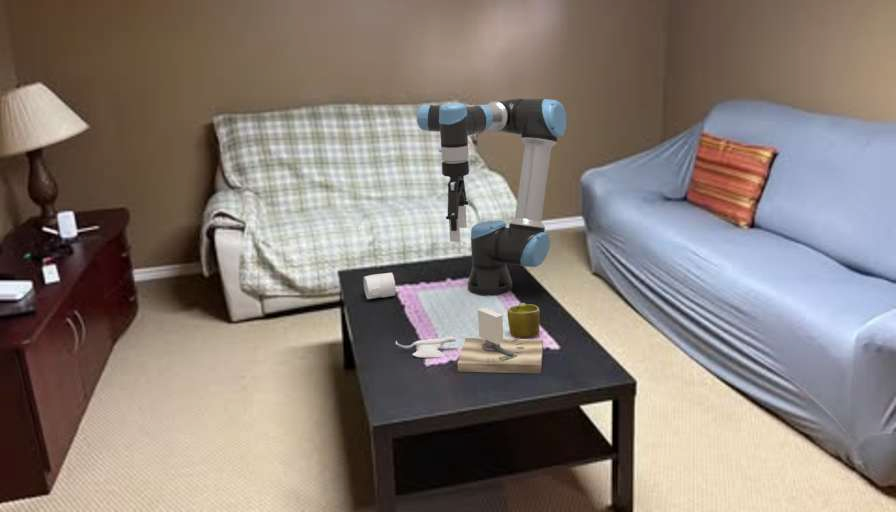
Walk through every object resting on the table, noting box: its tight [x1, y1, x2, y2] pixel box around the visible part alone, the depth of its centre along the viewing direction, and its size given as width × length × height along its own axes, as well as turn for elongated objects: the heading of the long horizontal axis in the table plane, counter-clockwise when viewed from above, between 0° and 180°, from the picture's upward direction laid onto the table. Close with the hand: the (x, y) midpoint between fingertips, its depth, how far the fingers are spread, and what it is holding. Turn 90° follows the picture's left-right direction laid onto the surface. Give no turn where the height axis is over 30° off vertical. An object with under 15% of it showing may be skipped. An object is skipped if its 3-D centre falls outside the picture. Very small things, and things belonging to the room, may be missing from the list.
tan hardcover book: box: [457, 337, 544, 375], centre depth 211 cm, size 16×22×3 cm
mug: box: [506, 302, 541, 339], centre depth 226 cm, size 12×10×10 cm
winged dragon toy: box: [393, 336, 457, 359], centre depth 218 cm, size 18×10×4 cm, turn 93°
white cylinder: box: [363, 272, 397, 300], centre depth 261 cm, size 12×9×8 cm
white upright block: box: [477, 307, 514, 356], centre depth 209 cm, size 5×12×10 cm, turn 39°
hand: (458, 234), depth 220 cm, fingers open, 13 cm apart
